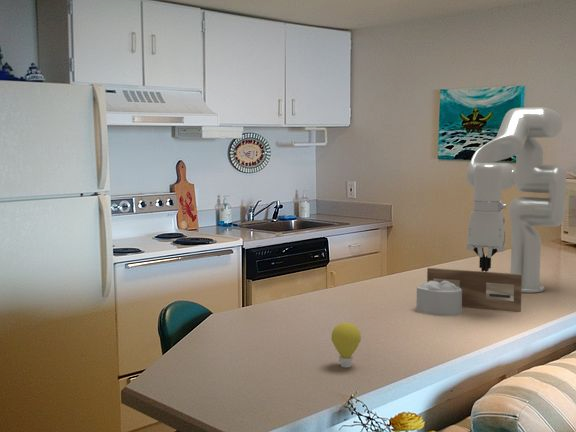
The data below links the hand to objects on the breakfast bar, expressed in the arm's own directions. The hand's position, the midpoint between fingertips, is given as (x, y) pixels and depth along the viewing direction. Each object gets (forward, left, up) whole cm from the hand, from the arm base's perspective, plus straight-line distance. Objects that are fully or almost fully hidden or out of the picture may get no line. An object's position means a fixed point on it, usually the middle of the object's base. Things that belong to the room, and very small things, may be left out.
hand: (484, 270), depth 199 cm
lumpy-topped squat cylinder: (-2, -13, -14) cm, 19 cm away
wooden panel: (-11, -5, -13) cm, 18 cm away
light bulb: (+57, -22, -14) cm, 63 cm away
